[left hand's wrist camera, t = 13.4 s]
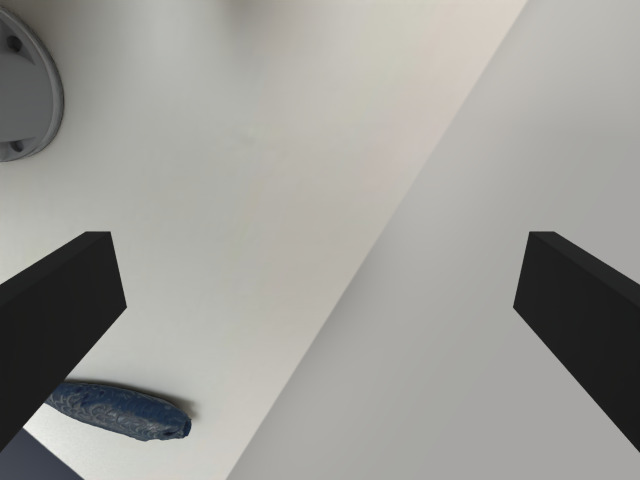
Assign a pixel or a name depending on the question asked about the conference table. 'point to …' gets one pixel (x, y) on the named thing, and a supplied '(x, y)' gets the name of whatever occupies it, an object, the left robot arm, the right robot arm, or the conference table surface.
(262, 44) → the conference table surface
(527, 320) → the left robot arm
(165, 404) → the fish model
